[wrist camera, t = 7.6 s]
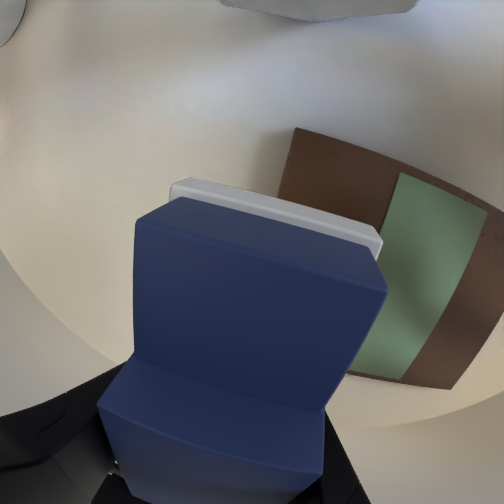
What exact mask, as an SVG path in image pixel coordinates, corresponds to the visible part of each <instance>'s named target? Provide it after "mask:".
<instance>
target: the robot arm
mask: <svg viewBox="0 0 504 504" xmlns="http://www.w3.org/2000/svg"><path fill="white" fill-rule="evenodd" d="M126 362H127V361H126ZM126 362H124V363H122V364H120V365H118V366H116V367H114V368H112V369H111V370H109V371H107V372H105V373H103V374H101V375H99V376H97V377H95V378H93V379H91V380H89V381H87V382H85V383H84V384H81V385H79V386H77V387H75V388H73V389H71V390H69V391H67V393H63V394H61V395H59V396H57V397H55V398H53V399H51V400H48V401H46V402H44V403H41V404H38V405H36V406H33V407H30V408H27V409H24V410H21V411H18V412H15V413H11V414H9V415H5V416H1V417H0V504H90V503H91V504H152V503H149V502H147V501H144V500H142V499H140V498H137V497H135V496H133V495H132V494H131V492H130V490H129V488H128V486H127V484H126V481H125V479H124V477H123V475H122V473H121V470H120V468H119V466H118V464H116V463H115V461H116V459H115V456H114V454H113V451H112V449H111V446H110V443H109V441H108V438H107V435H106V433H105V430H104V427H103V424H102V421H101V418H100V415H99V412H98V409H97V401H98V400H99V399H100V397H101V396H102V395H103V393H104V392H105V390H106V389H107V388H108V386H109V385H110V384H111V382H112V381H113V379H114V378H115V377H116V375H117V374H118V373H119V371H120V370H121V369H122V367H123V366H124V365H125V363H126ZM108 473H111V474H112V475H111V474H108ZM359 482H360V481H359V479H358V477H357V475H356V473H355V471H354V469H353V467H352V465H351V463H350V460H349V458H348V457H347V454H346V452H345V451H344V448H343V446H342V444H341V442H340V440H339V438H338V436H337V434H336V432H335V430H334V428H333V425H332V423H331V421H330V419H329V417H328V415H327V413H326V411H325V432H324V458H323V473H322V475H321V476H320V477H319V478H318V479H317V480H315V481H314V482H313V483H312V484H311V485H310V486H309V487H307V488H306V489H305V490H304V491H303V492H301V493H300V494H299V495H298V496H296V497H295V498H294V499H293V500H291V501H290V502H289V503H287V504H371V503H370V501H369V499H368V497H367V495H366V493H365V491H364V489H363V487H362V485H361V483H359Z"/></svg>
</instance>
